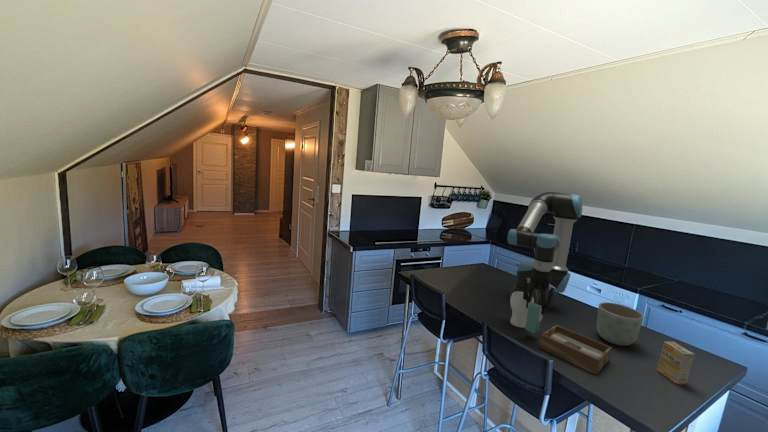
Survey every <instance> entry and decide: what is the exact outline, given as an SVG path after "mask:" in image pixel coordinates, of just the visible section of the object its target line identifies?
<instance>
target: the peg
mask: <svg viewBox="0 0 768 432" xmlns="http://www.w3.org/2000/svg"><path fill="white" fill-rule="evenodd" d="M541 306H542V304H541V305H540V304H535V303H532V304H530V305H529V307H528V314H527V320H526V326H525V327H524V330H525V331H528V332H530V333H532V334H537V333H538V332H539V331H540V326H541V321H542V320H541V321H538V315H539V309H540V307H541Z"/></svg>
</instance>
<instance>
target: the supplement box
mask: <svg viewBox="0 0 768 432" xmlns="http://www.w3.org/2000/svg"><path fill="white" fill-rule="evenodd" d="M694 358H695V353H694V352H692V351H690V350H688V349H687V348H685V347H684V346H682V345H680V344H679V343H677V342H675V341H663V345H662V349H661V353H660V357H659V361H658V366H657V369H656V371H657V373H659V372H660V374H661V375H662V374H663V375H662V376H664V377H665V376H666V377H665V378H667V379H668V378H669V380H670V381H671V382H672V381H673V382H672V383H673V384H675V383H676V384H675V385H687V382H688V380H689V377H690V374H691V373H690V372H691V369H692V365H693V362H694V360H695V359H694Z"/></svg>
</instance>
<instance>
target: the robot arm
mask: <svg viewBox="0 0 768 432" xmlns="http://www.w3.org/2000/svg"><path fill="white" fill-rule="evenodd" d="M527 207H528V209H527V211H526V213H525V214H524V216H523V217H522V220H521V221H520V223H519V224H518V226H517V228H511V229H509V231H508V233H507V237H506V238H507V239H506V240H507V243H508V244H509V245H513V246H517V247H523V248H529V249H533V250H535V251H534V258H533V261H531V260H530V261H529V260H527V261H526V260H525V261H522V262H519V263H518V264H517V265H518V266H517V268H516V275H515V284H514V286H513V289H512V290H511V292H510V295H509V298H510V299H511V296H512V293H513V292H524V293H523V299H524V300H526V301H527V303H526V308H527V314H528V307H529V305H530V304H532V303H533V302H531V301H532V298H534V303H535V304H538V303H539V298H538V294H537V293H538V292H537V290H539V293H540V302H541V303H540V304H541V307H540V309H539V315H538V321H543V316H544V315H545V314H546V311H547V309H550V308H552V304H553V301H554V293H558V294H559V293H560V294H562V293H565V291H566V289H567V286H568V283H569V281H570V277H571V273H569V268H567V266H566V265H567V261H568V255H569V249H570V245H571V244H570V243H571V238H572V234H573V233H572V232H573V226H574V223H576V222H577V221H578V219H579V218H581V217H582V214H583V198H582V196H581V195H579V194H576V193H575V194H574V193H566V192H565V193H562V192H555V191H548V192H543V193H540V194H538V195H536V196H535V197H533V198H532V199H531V201H529V204H528V206H527ZM546 213H547V214H553V216H552V217H553V218H554V220H555V222H554V228H553V233H551V234H550V233H538V232H537V233H536V232H535V230H536V228H537V227H538V224H539V222H540V220H541V219H542V216H543V215H544V214H545V215H546ZM547 290H548V295H547ZM528 294H529V296H528ZM510 299H509V300H510ZM538 305H539V304H538Z"/></svg>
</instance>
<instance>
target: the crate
mask: <svg viewBox="0 0 768 432" xmlns="http://www.w3.org/2000/svg"><path fill="white" fill-rule="evenodd" d="M538 343H539V344H538V348H540V349H542V350H544V351H545V352H546V353H547V352H548V353H550V354H551V355H554V356H556V357H558V358H560V359H562V360H564V361H566V362H568V363H571V364H573V365H575V366H577V367H579V368H581V369H582V370H586V371H587V372H589V373H592V374H594V375H597V374H598V373H599V372H600V371H601V370H602V369H603V368H604V367H605V366H606V365H605V364H607V363H609V361H610V359H611V355H612V349H613V347H612V346H609V345H607V344H605V343H602V342H599V341H597V340H594V339H592V338H590V337H587V336H586V335H583V334H580V333H578V332H575V331H573V330H570V329H568V328H565V327H563V326H560V325H559V324H556V325H554V326H552V327H551V328H549V329H547V330H546V331H544V332H542V333H541V334H540V339H539V342H538Z"/></svg>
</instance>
